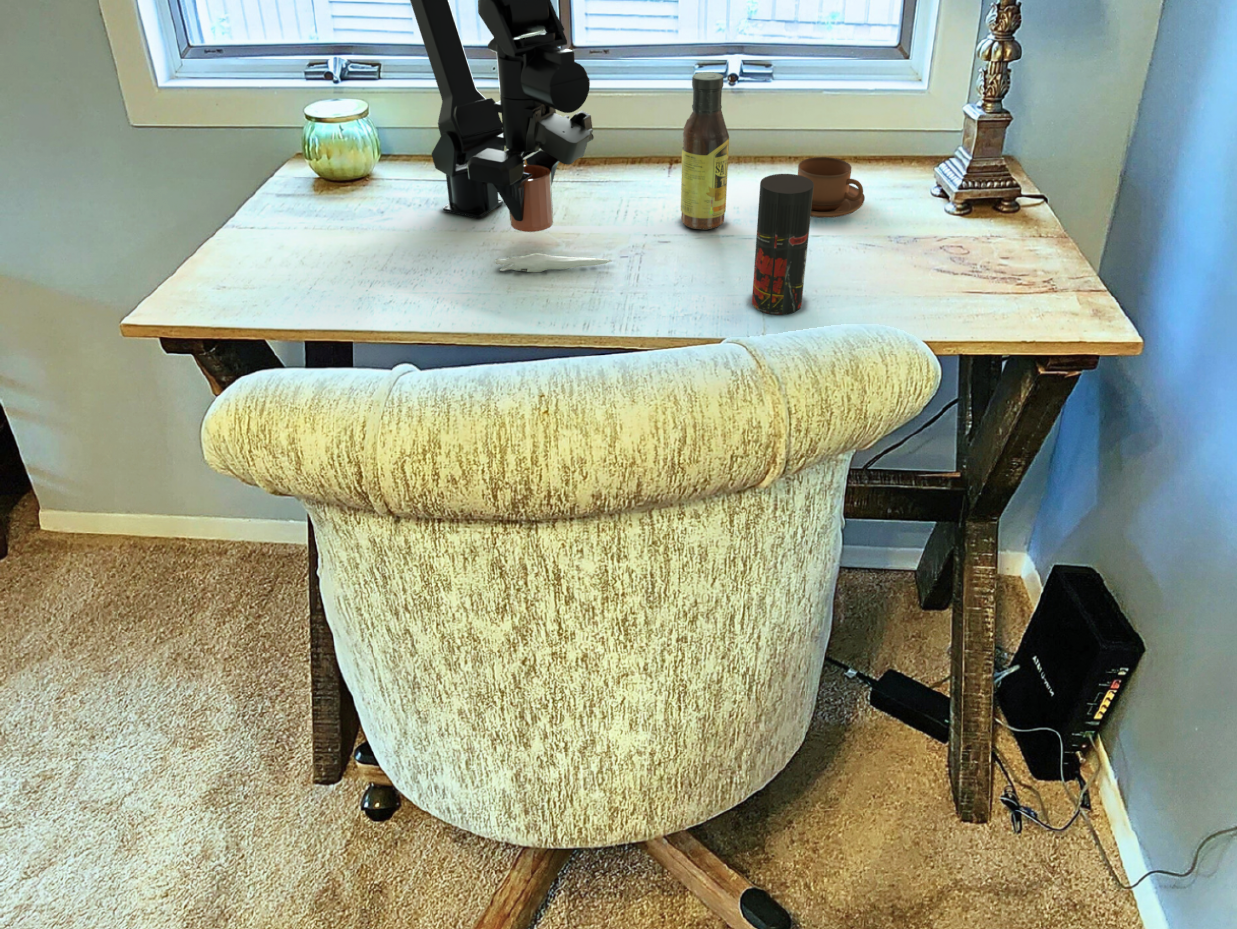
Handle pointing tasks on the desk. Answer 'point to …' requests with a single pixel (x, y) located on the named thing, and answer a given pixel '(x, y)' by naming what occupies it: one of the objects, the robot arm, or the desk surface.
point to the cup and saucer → (831, 187)
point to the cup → (536, 201)
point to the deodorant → (781, 243)
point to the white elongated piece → (546, 262)
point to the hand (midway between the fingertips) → (531, 212)
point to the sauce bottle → (705, 156)
